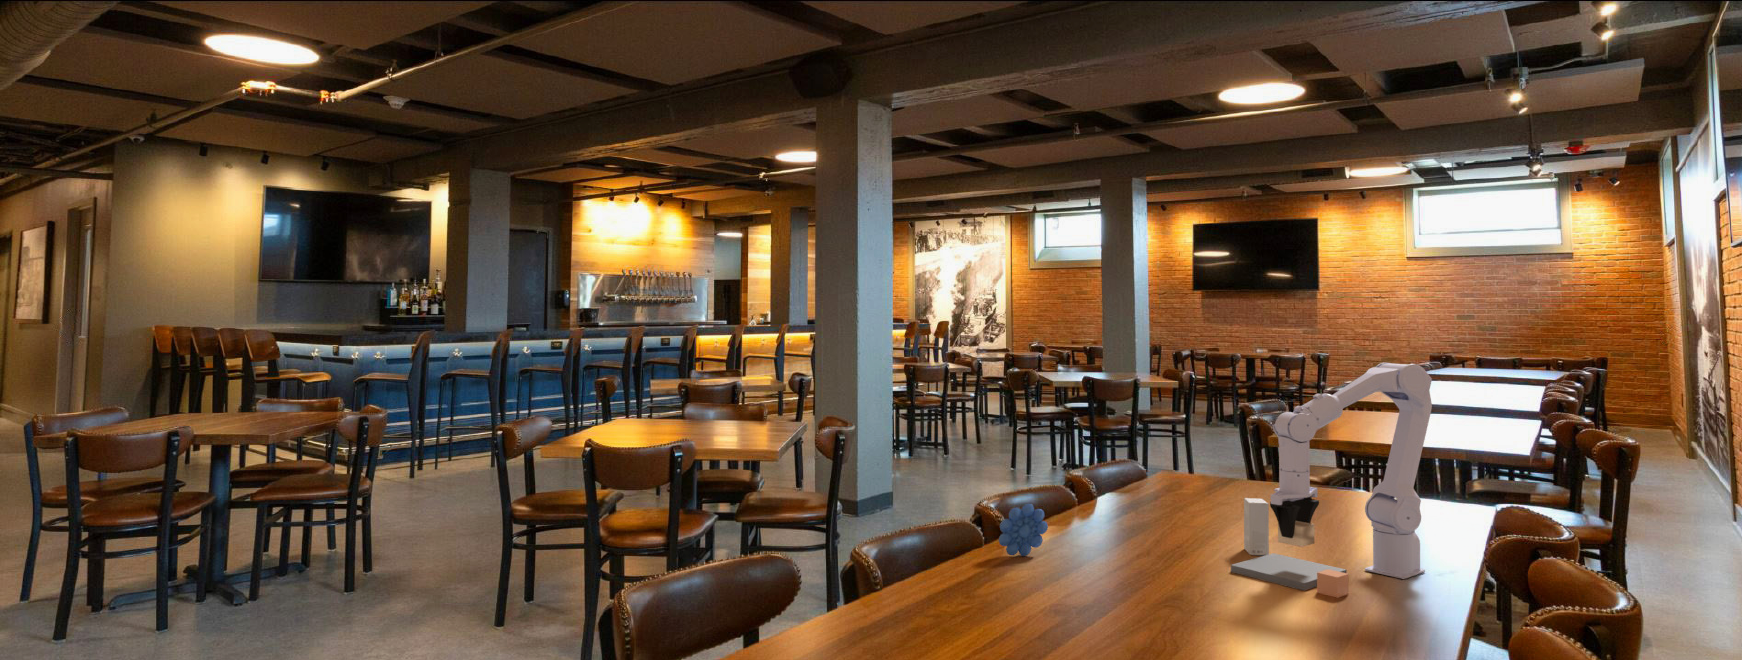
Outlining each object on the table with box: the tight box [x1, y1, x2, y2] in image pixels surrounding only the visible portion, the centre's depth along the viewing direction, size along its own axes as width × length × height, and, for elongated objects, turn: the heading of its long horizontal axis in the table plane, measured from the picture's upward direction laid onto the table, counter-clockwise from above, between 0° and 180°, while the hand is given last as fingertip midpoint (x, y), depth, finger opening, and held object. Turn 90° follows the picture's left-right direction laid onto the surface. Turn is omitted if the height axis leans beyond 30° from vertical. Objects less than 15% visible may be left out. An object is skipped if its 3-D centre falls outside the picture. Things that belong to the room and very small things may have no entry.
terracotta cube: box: [1316, 569, 1350, 598], centre depth 167 cm, size 4×4×4 cm
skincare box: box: [1243, 497, 1270, 556], centre depth 198 cm, size 6×4×12 cm
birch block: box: [1277, 521, 1316, 548], centre depth 179 cm, size 5×5×4 cm
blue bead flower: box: [998, 503, 1049, 557], centre depth 198 cm, size 12×7×12 cm, turn 98°
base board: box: [1230, 552, 1348, 591], centre depth 180 cm, size 16×16×2 cm
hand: (1294, 535), depth 179 cm, fingers closed on birch block, 5 cm apart
